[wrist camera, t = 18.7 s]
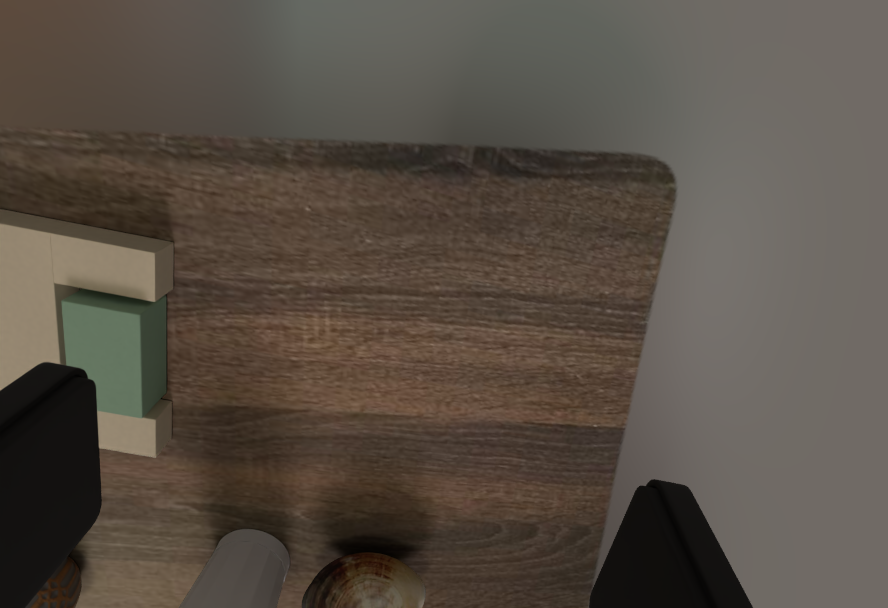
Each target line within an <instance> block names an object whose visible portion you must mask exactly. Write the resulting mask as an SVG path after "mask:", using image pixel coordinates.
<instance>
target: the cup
mask: <svg viewBox="0 0 888 608" xmlns="http://www.w3.org/2000/svg"><path fill="white" fill-rule="evenodd" d="M289 566H290V557H289V554H288V551H287V549H286V548H285V546H284V545H283V544H282V543H281V542H280V541H279V540H278V539H276V538H275V537H274V536H272V535H270V534H268V533H266V532H263V531H259V530H254V529H241V530H236V531H233V532H230V533H228V534H227V535H225V536H224V537H223V538H222V539H221V540H220V541H219V543H218V545H217V547H216V549H215V551H214V553H213V555H212V556H211V558H210V559H209V561H208V562H207V564H206V566H205V567H204V569H203V570H202V572H201V573H200V575H199V577H198V578H197V580H196V581H195V583H194V584H193V586H192V588H191V589H190V591H189V592H188V594H187V595H186V597H185V599H184V600H183V602H182V603H181V605H180V607H179V608H276V607H277V604H278V600H279V596H280V592H281V589H282V585H283V583H284V580H285V578H286V575H287V572H288V569H289Z"/></svg>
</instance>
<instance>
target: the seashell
mask: <svg viewBox="0 0 888 608" xmlns="http://www.w3.org/2000/svg"><path fill="white" fill-rule="evenodd" d="M425 594H426V590H425V586H424V584H423V582H422V580H421V579H420V578H419V576H418V575H417V574H416V573H415V572H414V571H413V570H412V569H411V568H410V567H408V566H407V565H406V564H404V563H403V562H401V561H399V560H397V559H395V558H393V557H390V556H387V555H384V554H380V553H373V552H363V553H356V554H351V555H347V556H344V557H341V558H338V559H336V560H334V561H333V562H331V563H329V564H328V565H327V566H325V567H324V568H323V569H322V570H321V571H320V572H319V573H318V574H317V576H316V577H315V578H314V580H313V581H312V583H311V584H310V585H309V587H308V589H307V590H306V592H305V594H304V596H303V600H302V608H422V606H423V603H424V600H425Z"/></svg>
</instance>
